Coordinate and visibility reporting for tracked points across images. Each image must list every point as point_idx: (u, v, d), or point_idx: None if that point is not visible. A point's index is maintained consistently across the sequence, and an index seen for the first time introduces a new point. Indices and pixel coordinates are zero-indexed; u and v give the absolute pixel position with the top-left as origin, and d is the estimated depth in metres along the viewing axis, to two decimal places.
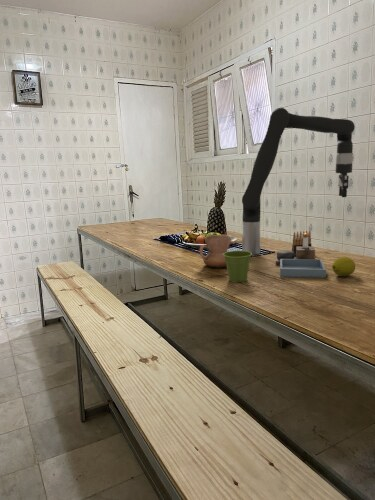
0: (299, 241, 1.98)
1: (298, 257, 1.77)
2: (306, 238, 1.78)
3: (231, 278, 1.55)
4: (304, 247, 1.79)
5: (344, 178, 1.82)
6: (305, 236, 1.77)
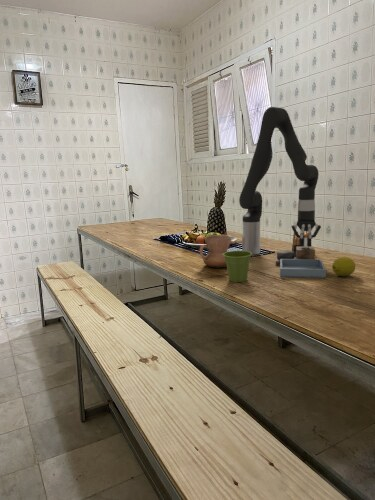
0: (299, 241, 1.98)
1: (298, 257, 1.77)
2: (306, 238, 1.78)
3: (231, 278, 1.55)
4: (304, 247, 1.79)
5: (319, 228, 1.76)
6: (305, 236, 1.77)
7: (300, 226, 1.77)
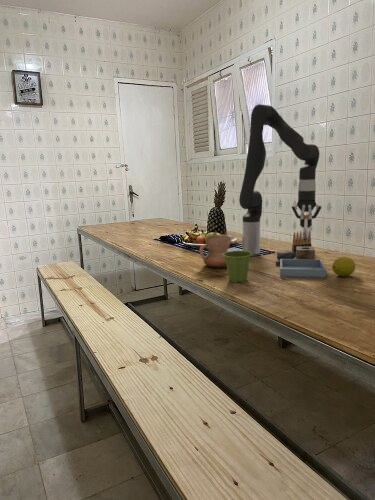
0: (299, 241, 1.98)
1: (298, 257, 1.77)
2: (306, 219, 1.76)
3: (231, 278, 1.55)
4: (304, 228, 1.77)
5: None
6: (305, 217, 1.76)
7: (300, 207, 1.75)
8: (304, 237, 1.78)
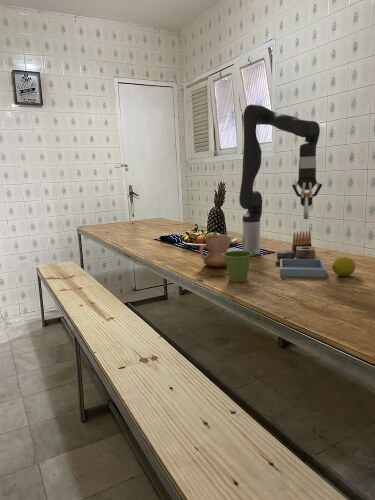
0: (299, 241, 1.98)
1: (298, 257, 1.77)
2: (307, 197, 1.74)
3: (231, 278, 1.55)
4: (305, 206, 1.75)
5: (320, 187, 1.72)
6: (306, 195, 1.73)
7: (301, 185, 1.73)
8: (305, 216, 1.75)
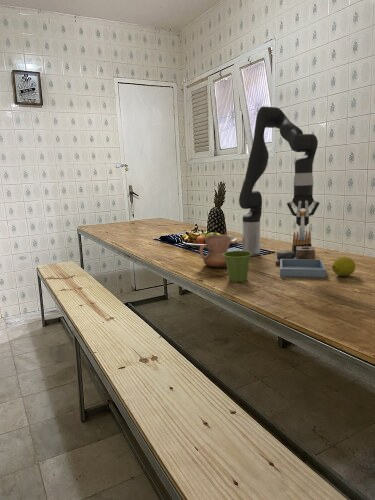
0: (299, 241, 1.98)
1: (298, 257, 1.77)
2: (303, 216, 1.60)
3: (231, 278, 1.55)
4: (301, 226, 1.61)
5: (318, 205, 1.58)
6: (302, 214, 1.60)
7: (296, 203, 1.59)
8: (301, 236, 1.62)
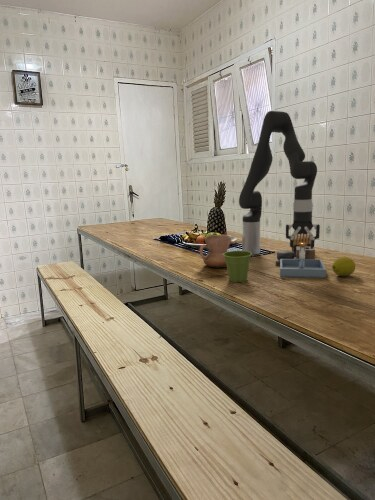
0: (299, 241, 1.98)
1: (298, 257, 1.77)
2: (303, 248, 1.63)
3: (231, 278, 1.55)
4: (300, 258, 1.64)
5: (319, 227, 1.60)
6: (302, 246, 1.62)
7: (296, 228, 1.62)
8: (300, 267, 1.65)
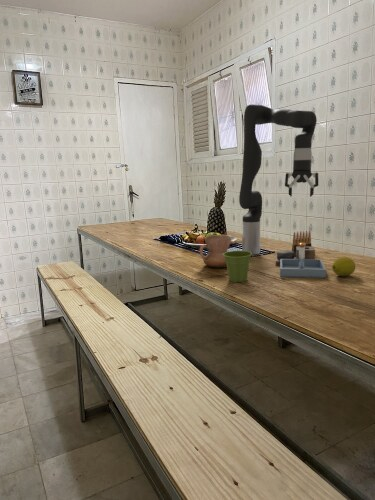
0: (299, 241, 1.98)
1: (298, 257, 1.77)
2: (302, 248, 1.63)
3: (231, 278, 1.55)
4: (300, 258, 1.64)
5: None
6: (301, 246, 1.63)
7: (295, 177, 1.68)
8: (300, 267, 1.65)
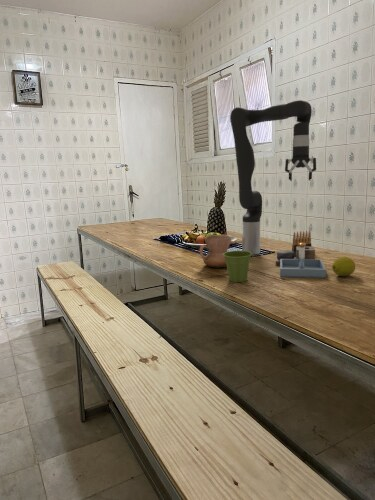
0: (299, 241, 1.98)
1: (298, 257, 1.77)
2: (302, 248, 1.63)
3: (231, 278, 1.55)
4: (300, 258, 1.64)
5: (315, 160, 1.79)
6: (301, 246, 1.63)
7: (295, 162, 1.81)
8: (300, 267, 1.65)
